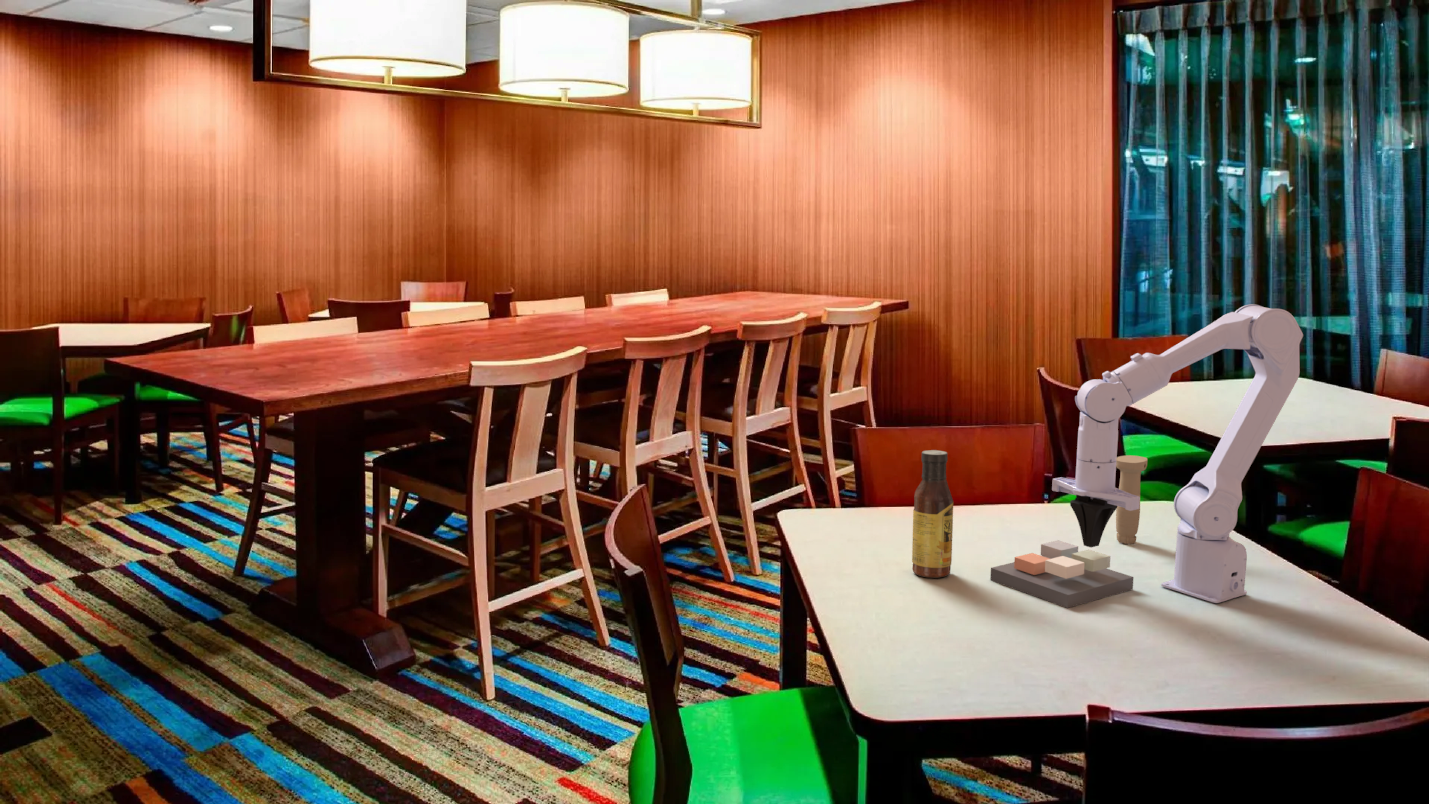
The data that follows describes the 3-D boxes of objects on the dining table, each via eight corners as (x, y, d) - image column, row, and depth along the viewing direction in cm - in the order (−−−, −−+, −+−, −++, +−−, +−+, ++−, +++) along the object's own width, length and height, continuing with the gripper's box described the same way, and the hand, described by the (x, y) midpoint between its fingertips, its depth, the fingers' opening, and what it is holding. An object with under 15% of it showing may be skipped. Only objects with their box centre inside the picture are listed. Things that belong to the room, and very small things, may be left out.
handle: (1146, 540, 190) (1152, 458, 188) (1132, 548, 185) (1137, 464, 183) (1120, 535, 193) (1125, 454, 191) (1105, 543, 189) (1110, 459, 186)
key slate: (1077, 557, 170) (1078, 546, 170) (1060, 561, 168) (1061, 550, 168) (1057, 550, 173) (1058, 540, 173) (1040, 555, 171) (1041, 544, 171)
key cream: (1083, 574, 162) (1084, 562, 162) (1066, 578, 160) (1066, 567, 159) (1062, 567, 165) (1063, 555, 165) (1044, 571, 163) (1045, 560, 163)
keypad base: (1132, 589, 165) (1133, 577, 164) (1067, 608, 157) (1068, 595, 157) (1054, 563, 177) (1055, 552, 177) (990, 579, 169) (990, 567, 169)
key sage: (1109, 567, 165) (1110, 556, 165) (1092, 571, 163) (1093, 560, 163) (1088, 560, 168) (1088, 549, 168) (1071, 564, 166) (1071, 553, 166)
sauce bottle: (951, 581, 169) (955, 457, 166) (911, 578, 170) (914, 456, 167) (950, 568, 175) (955, 449, 172) (911, 565, 176) (915, 447, 173)
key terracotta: (1051, 570, 167) (1052, 559, 167) (1034, 575, 165) (1034, 563, 165) (1031, 563, 170) (1032, 552, 170) (1014, 568, 168) (1014, 557, 168)
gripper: (1040, 453, 167) (1036, 537, 169) (1120, 471, 155) (1114, 562, 157) (1071, 448, 171) (1066, 531, 173) (1150, 465, 158) (1144, 554, 161)
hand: (1091, 545), depth 165 cm, fingers closed
